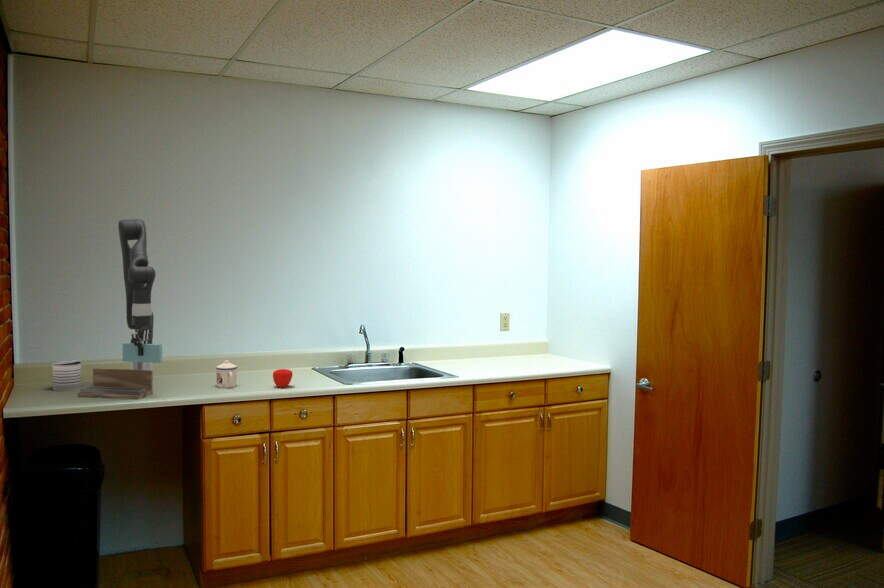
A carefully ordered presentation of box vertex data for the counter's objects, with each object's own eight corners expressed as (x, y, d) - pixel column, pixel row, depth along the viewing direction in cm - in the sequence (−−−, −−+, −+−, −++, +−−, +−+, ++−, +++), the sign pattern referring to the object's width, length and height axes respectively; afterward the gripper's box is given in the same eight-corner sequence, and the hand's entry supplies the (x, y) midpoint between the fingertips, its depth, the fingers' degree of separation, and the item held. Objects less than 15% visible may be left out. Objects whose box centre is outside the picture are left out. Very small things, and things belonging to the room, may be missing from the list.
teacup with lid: (213, 385, 321) (213, 359, 320) (233, 383, 326) (233, 358, 325) (221, 389, 311) (221, 363, 310) (241, 388, 316) (241, 362, 315)
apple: (295, 387, 319) (295, 370, 319) (276, 389, 315) (276, 372, 314) (288, 384, 327) (288, 367, 326) (270, 385, 322) (270, 368, 322)
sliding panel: (125, 360, 297) (125, 343, 297) (161, 362, 296) (161, 344, 296) (122, 361, 295) (122, 343, 295) (159, 362, 294) (159, 345, 294)
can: (67, 391, 300) (66, 363, 299) (45, 389, 303) (45, 361, 302) (87, 386, 311) (87, 359, 310) (67, 385, 314) (66, 358, 313)
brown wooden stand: (94, 391, 302) (94, 367, 301) (152, 393, 299) (152, 370, 299) (77, 396, 290) (77, 372, 289) (137, 399, 287) (137, 375, 287)
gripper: (141, 312, 302) (141, 352, 303) (124, 315, 288) (124, 357, 289) (158, 313, 301) (158, 353, 302) (142, 315, 287) (142, 358, 289)
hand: (142, 355), depth 296 cm, fingers closed on sliding panel, 1 cm apart
